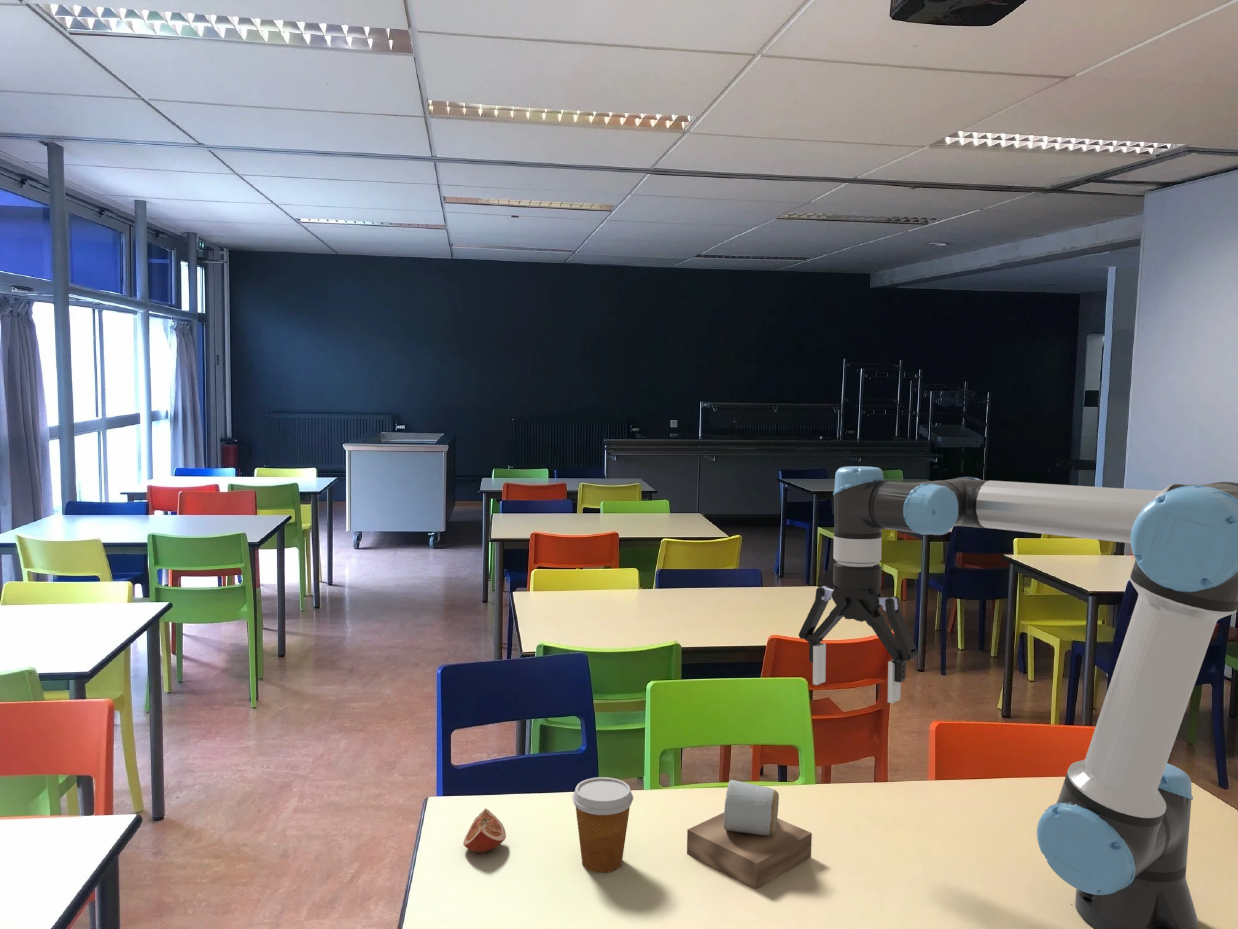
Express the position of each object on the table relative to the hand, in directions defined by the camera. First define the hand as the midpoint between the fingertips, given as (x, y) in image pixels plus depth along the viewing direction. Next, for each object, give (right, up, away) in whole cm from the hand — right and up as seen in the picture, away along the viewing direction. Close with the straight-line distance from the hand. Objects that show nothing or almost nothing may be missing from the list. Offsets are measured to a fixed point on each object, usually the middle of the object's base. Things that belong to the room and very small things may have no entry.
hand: (855, 692), depth 150 cm
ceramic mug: (-17, -22, -1) cm, 28 cm away
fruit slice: (-60, -25, -1) cm, 65 cm away
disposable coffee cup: (-41, -26, -5) cm, 49 cm away
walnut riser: (-18, -26, -3) cm, 31 cm away
